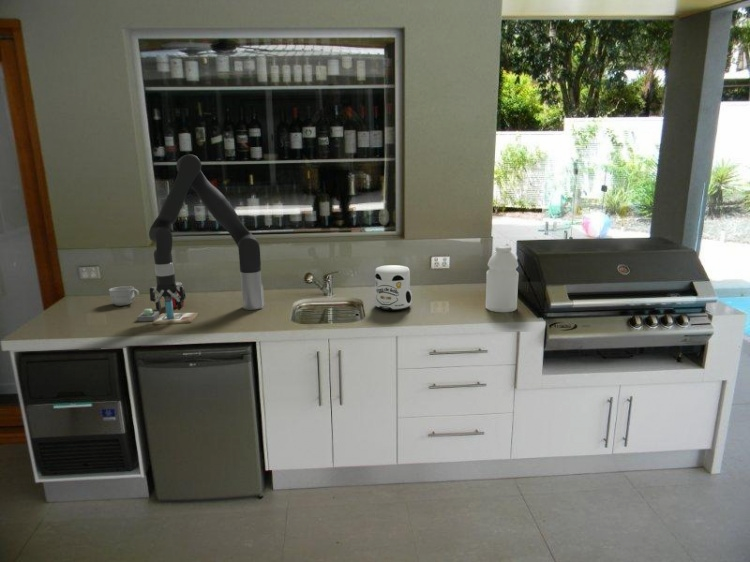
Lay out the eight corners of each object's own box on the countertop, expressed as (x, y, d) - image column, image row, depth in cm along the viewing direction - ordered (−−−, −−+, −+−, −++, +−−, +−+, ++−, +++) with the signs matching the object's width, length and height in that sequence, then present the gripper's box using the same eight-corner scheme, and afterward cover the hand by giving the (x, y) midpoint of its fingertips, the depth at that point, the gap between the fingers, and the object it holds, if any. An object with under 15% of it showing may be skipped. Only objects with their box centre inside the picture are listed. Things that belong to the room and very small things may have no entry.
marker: (175, 316, 243) (172, 295, 241) (172, 318, 240) (170, 297, 238) (167, 317, 242) (165, 296, 241) (165, 319, 239) (163, 297, 237)
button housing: (159, 315, 248) (159, 311, 247) (154, 320, 241) (153, 316, 241) (143, 316, 248) (143, 311, 247) (137, 321, 241) (137, 316, 240)
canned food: (178, 309, 257) (176, 286, 254) (163, 308, 258) (160, 285, 255) (187, 304, 264) (185, 281, 261) (172, 303, 265) (169, 281, 263)
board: (198, 314, 249) (198, 311, 249) (191, 322, 237) (190, 320, 237) (162, 315, 248) (161, 312, 248) (153, 324, 237) (152, 321, 236)
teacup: (106, 306, 264) (103, 289, 261) (124, 299, 273) (121, 284, 271) (128, 309, 258) (126, 292, 256) (146, 302, 268) (144, 286, 266)
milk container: (378, 314, 243) (377, 274, 239) (370, 303, 260) (369, 265, 255) (416, 311, 247) (416, 272, 242) (406, 300, 263) (406, 263, 258)
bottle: (479, 308, 249) (480, 247, 242) (495, 301, 259) (497, 242, 251) (507, 315, 240) (509, 251, 232) (523, 307, 249) (526, 246, 242)
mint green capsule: (154, 314, 246) (153, 308, 245) (151, 317, 242) (150, 310, 242) (145, 315, 246) (144, 308, 245) (142, 317, 242) (142, 311, 241)
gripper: (184, 270, 240) (188, 306, 244) (151, 271, 239) (155, 307, 243) (179, 274, 233) (183, 312, 237) (144, 276, 232) (149, 313, 236)
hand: (169, 309), depth 240 cm, fingers open, 8 cm apart
